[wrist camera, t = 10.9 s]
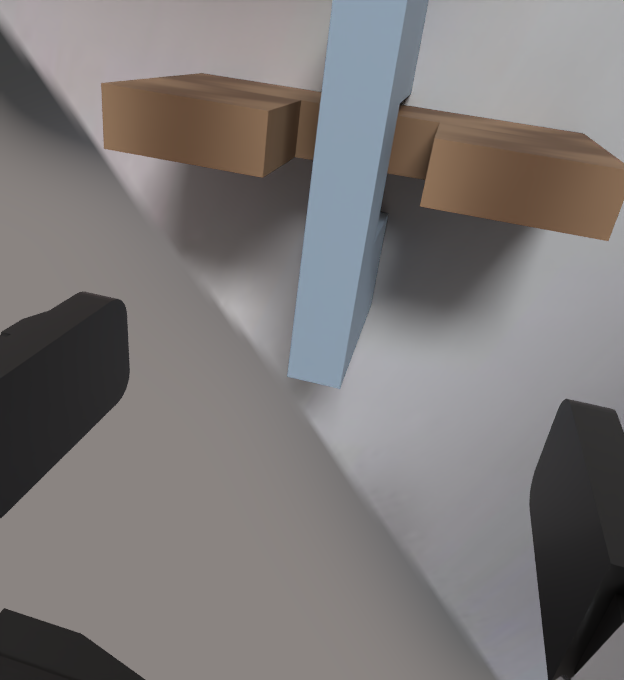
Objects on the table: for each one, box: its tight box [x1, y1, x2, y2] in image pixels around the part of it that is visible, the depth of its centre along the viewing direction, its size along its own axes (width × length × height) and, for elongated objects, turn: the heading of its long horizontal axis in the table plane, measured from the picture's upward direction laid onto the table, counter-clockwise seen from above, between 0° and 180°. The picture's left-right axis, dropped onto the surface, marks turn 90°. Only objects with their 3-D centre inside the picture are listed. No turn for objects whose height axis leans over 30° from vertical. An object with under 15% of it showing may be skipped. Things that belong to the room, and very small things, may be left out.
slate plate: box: [287, 0, 428, 389], centre depth 22 cm, size 14×2×8 cm, turn 173°
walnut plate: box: [101, 73, 624, 241], centre depth 21 cm, size 16×2×8 cm, turn 83°
